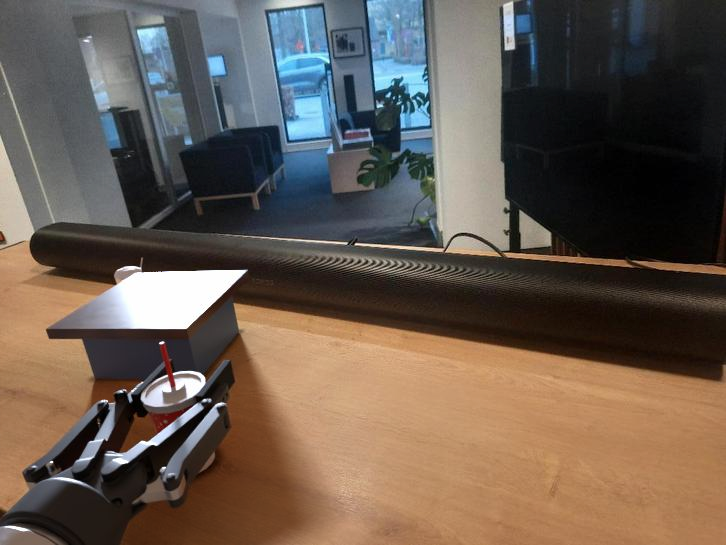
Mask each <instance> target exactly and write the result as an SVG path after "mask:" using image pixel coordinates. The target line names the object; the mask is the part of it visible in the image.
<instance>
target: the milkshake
mask: <svg viewBox="0 0 726 545" xmlns="http://www.w3.org/2000/svg"><path fill="white" fill-rule="evenodd" d="M143 261H144V258H143V257H141V260H140V264H139V267H138V266H133V265H132V266H131V265H130V266H123V267H121V268H119V269H117V270H116V271H115V272H114V274H113V278H114V281H115V283H116V285H117V284H119V283H120V282H122V281H123V280H125V279H127V278H128V277H130V276H131V275H133V274H135V273H143V270H142V266H143Z"/></svg>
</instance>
